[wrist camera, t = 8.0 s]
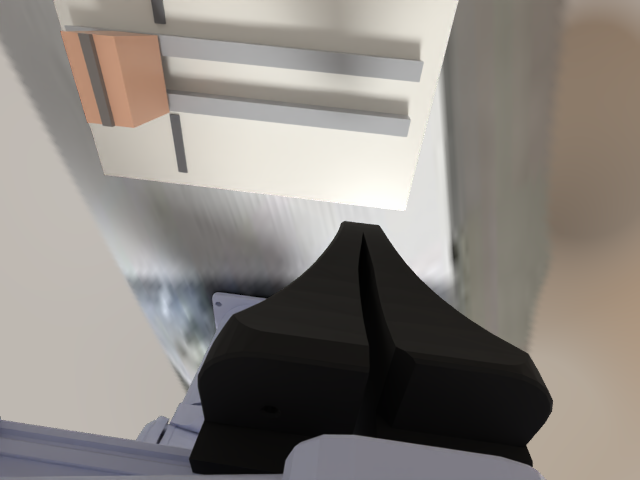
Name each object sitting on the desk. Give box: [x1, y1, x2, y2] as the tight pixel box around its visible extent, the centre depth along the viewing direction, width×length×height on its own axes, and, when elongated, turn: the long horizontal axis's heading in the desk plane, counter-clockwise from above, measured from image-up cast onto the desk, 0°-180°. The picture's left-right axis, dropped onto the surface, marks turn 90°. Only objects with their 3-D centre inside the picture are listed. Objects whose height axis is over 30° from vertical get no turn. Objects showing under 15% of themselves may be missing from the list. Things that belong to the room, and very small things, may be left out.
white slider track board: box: [53, 0, 458, 211], centre depth 16 cm, size 12×18×3 cm, turn 86°
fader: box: [60, 31, 170, 128], centre depth 14 cm, size 3×2×4 cm, turn 176°
